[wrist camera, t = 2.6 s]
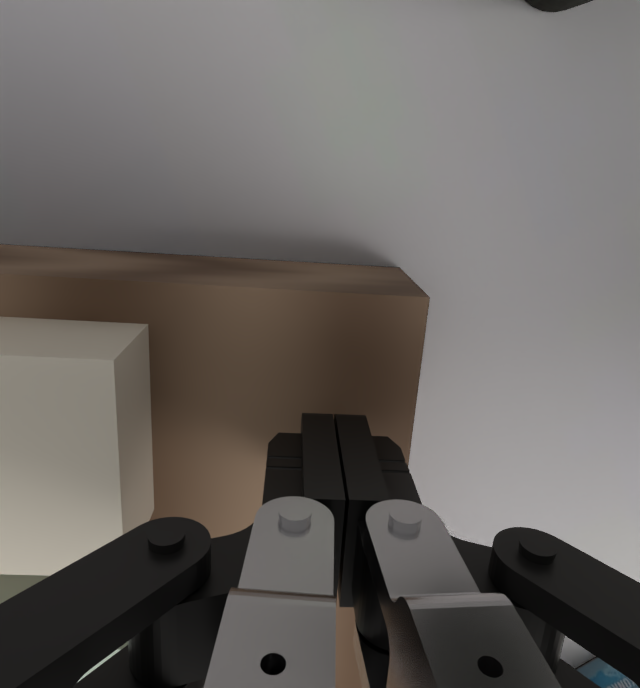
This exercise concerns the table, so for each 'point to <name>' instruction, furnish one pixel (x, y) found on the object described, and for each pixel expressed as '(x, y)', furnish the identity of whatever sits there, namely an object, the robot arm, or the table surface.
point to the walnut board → (240, 363)
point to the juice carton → (605, 675)
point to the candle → (556, 4)
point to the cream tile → (71, 439)
